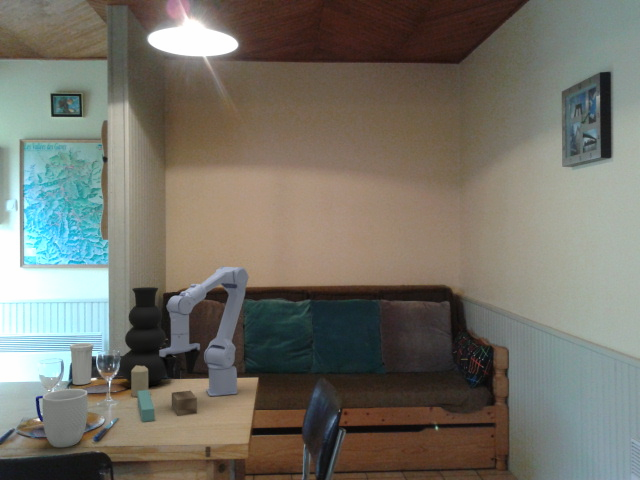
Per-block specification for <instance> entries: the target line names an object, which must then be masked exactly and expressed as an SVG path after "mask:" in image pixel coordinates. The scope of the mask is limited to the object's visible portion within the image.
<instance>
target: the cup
mask: <svg viewBox="0 0 640 480" xmlns="http://www.w3.org/2000/svg"><path fill="white" fill-rule="evenodd" d="M69 349H70V353H71V354H70V356H71V373H72V384H73V385H77V386H78V385H87V384H91V382H92V367H93V366H92V364H93V363H92V360H93V349H94V344H93V343H92V342H78V343H72V344H70V345H69Z"/></svg>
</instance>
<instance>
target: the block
mask: <svg viewBox="0 0 640 480" xmlns="http://www.w3.org/2000/svg"><path fill="white" fill-rule="evenodd" d="M197 403H198V397H197V396H196V395H195V394H194V393H193V392H192V390H184V391H175V392H171V409H172V410H173V412H174V414H175V415H176V417H177V416H185V415H187V416H188V415H193V414H194V415H195V414H197V413H198V404H197Z"/></svg>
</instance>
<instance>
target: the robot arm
mask: <svg viewBox="0 0 640 480" xmlns="http://www.w3.org/2000/svg"><path fill="white" fill-rule="evenodd" d="M249 278H250V277H249V274H248V272H247V270H246V268H245V267H242V266H238V267H236V266H220V267H219V268H217V269H215V272H214V273H213V274H212V275H210V276H209V277H208V278H207V279H205V280H204V281H202V282H201V283H191V284H190V287H188V288H187V289H186V290H184V291H181V292H180V294H179V295H173V296H171V297H170V299H168V302H167V304H166V310H167V312H169V318H170V346H169V347H165V348H163V349H162V348H161V349H162V350H159V356H160V359H161V360H162V362H163V364H164V366H165V369H166V372H167V375H166V376H167V378H170V379H173V378H174V375H175V374H174V373H175V363H176V359H177V357H175V356H173V355H177V354H180V353H184V356H185V362H186V363H185V364H186V373H187V374H193V373H194V369H195V365H196V361H197V359H198V357H199V356H200V350H201V344H200V343H198V342H195V343H190V314H191V313H192V311H193V308H194V307H195V306H196V305H197V304H199V303H200V302H202V301H203V300H205V298H206V296H207V293H209V292H211V291H212V290H213V289H215V288H218V286H220V285H221V287H222V288H223V290H224V291H226V292H227V295H228V297H227V299H226V303H225V307H224V310H223V314H222V316H221V320H220V324H219V328H218V330H217V334H216V337H215V338H213V339H212V340H211V341H210V342H209V344H208V347H207V348H206V349H205V351H204V353H203V359H204V362H205V364H207V365H206V366H207V367H208V388H206V389H205V391H206V393H207V394H208V396H209V397H217V396H218V397H219V396H229V395H236V394H238V372H237V371H238V370H237V368H236V366H234V363H235V360H236V359H235V358H236V355H235V354H236V349H237V348H236V346H235V344H234V343H233V338H234V334H235V330H236V327H237V323H238V320H239V316H240V313H241V310H242V307H243V306H242V305H243V303H244V299H245V296H246V289H247V285H248V281H249Z"/></svg>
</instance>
